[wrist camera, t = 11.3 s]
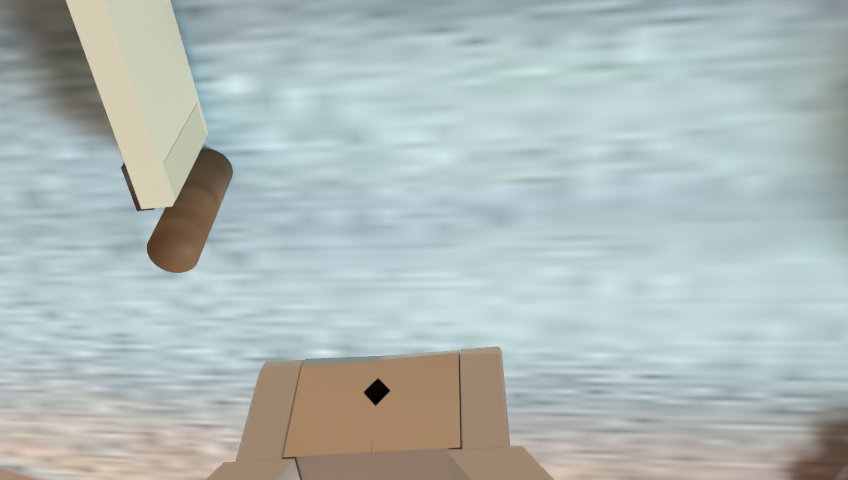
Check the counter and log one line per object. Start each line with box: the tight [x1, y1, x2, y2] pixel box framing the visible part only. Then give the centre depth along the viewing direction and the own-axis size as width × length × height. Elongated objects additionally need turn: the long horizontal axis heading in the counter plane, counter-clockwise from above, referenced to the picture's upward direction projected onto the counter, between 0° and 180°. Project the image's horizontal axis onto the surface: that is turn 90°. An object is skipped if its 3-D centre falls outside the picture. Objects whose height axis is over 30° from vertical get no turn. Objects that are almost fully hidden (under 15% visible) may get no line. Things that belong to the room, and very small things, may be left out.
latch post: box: [121, 150, 233, 273], centre depth 34 cm, size 4×3×6 cm
